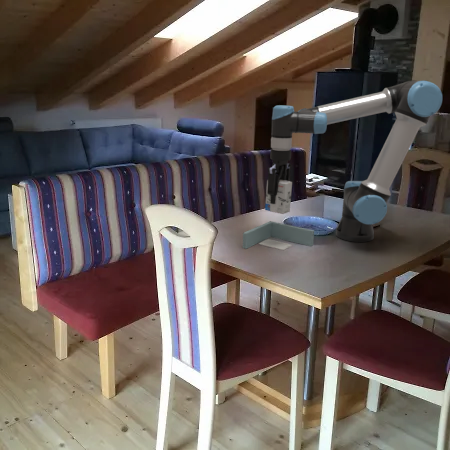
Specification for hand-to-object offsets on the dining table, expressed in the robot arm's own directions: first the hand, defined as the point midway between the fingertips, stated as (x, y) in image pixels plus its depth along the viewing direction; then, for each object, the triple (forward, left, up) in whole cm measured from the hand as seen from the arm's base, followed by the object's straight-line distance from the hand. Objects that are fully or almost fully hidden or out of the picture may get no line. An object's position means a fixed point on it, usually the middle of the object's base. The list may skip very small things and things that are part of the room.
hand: (277, 210), depth 191 cm
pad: (0, 0, -14) cm, 14 cm away
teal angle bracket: (-2, +1, -14) cm, 14 cm away
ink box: (0, 0, -1) cm, 1 cm away
